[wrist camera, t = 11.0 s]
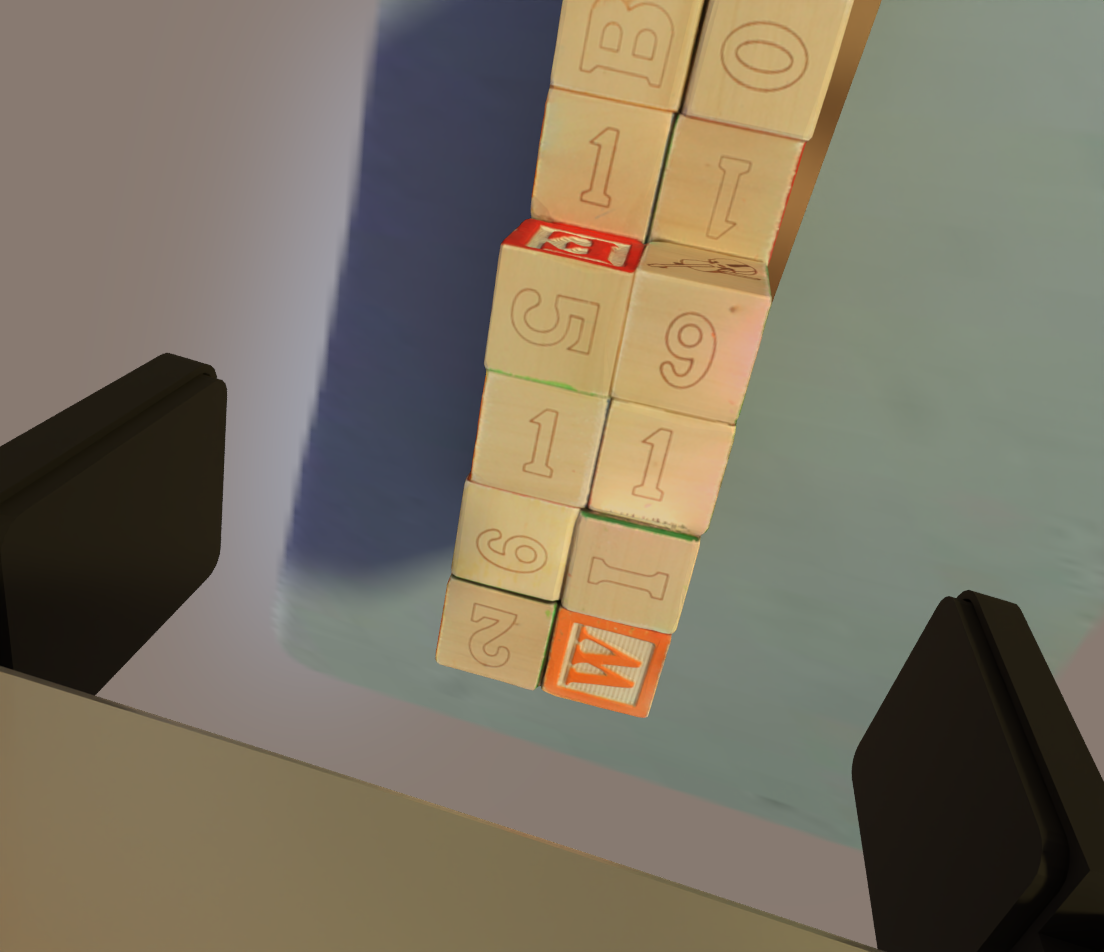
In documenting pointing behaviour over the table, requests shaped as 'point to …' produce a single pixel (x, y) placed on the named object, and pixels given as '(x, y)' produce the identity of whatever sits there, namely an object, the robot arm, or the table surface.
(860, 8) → the wooden tray
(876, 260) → the table surface
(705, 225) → the stack of blocks
